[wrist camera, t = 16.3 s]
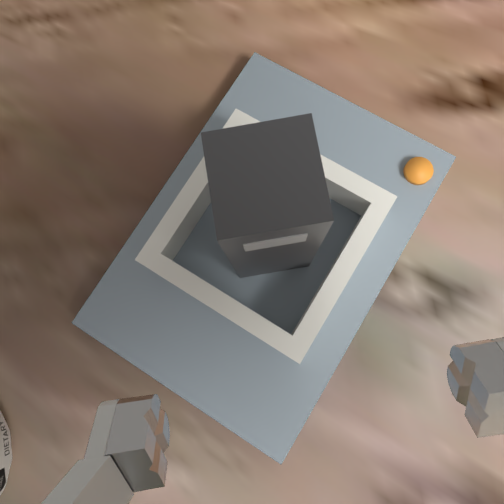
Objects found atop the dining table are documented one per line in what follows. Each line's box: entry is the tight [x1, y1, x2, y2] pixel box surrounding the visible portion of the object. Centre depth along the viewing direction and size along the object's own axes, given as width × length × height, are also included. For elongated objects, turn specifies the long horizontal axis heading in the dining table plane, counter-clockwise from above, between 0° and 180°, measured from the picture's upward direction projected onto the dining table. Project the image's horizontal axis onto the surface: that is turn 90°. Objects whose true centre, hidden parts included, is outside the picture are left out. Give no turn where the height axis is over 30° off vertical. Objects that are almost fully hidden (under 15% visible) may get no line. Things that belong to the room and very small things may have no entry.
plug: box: [201, 113, 334, 278], centre depth 19 cm, size 4×4×10 cm
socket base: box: [72, 52, 456, 464], centre depth 23 cm, size 20×14×4 cm
